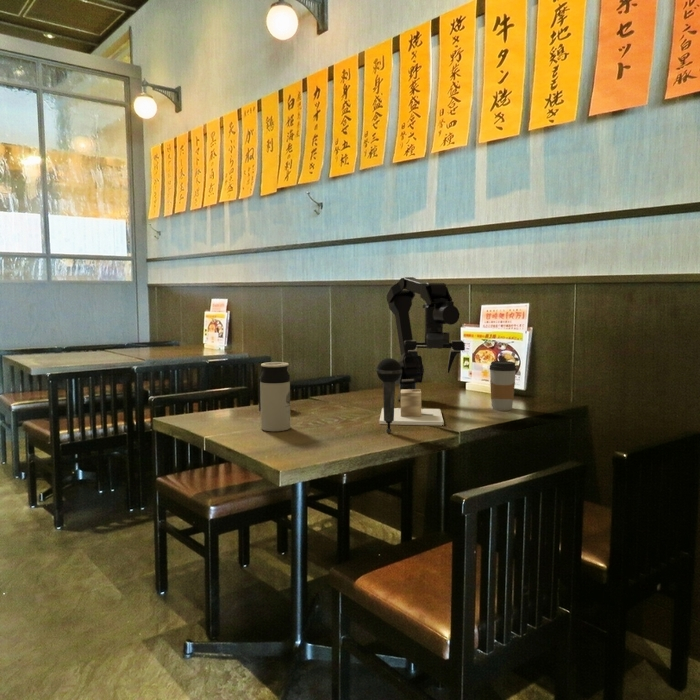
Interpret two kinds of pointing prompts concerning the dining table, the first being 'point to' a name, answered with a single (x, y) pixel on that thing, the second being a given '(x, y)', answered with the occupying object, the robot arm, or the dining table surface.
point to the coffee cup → (502, 384)
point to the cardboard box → (411, 402)
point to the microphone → (389, 386)
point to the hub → (415, 418)
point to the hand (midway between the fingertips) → (433, 372)
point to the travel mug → (275, 396)
